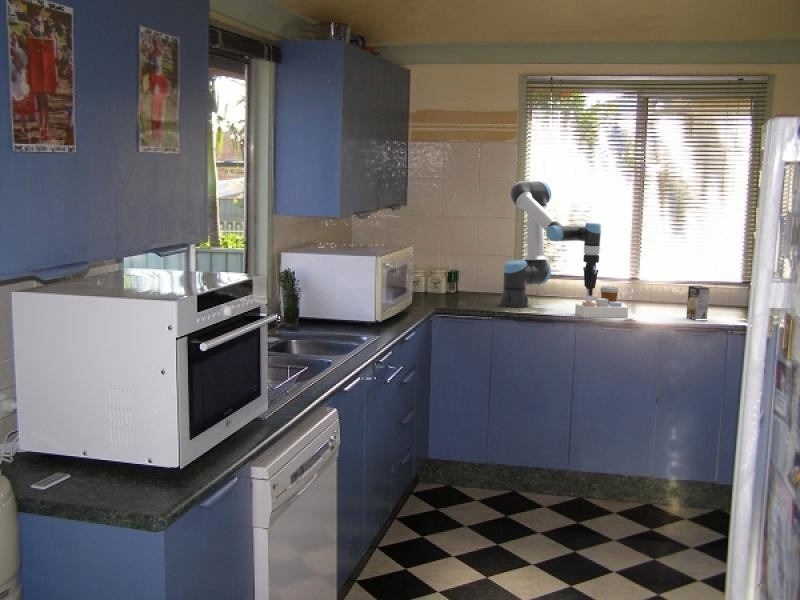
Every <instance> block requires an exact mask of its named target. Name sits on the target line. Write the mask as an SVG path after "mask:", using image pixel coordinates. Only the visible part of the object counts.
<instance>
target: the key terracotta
mask: <svg viewBox="0 0 800 600" xmlns="http://www.w3.org/2000/svg"><path fill="white" fill-rule="evenodd" d="M581 304H582V305H583V306H585V307H595V304H596V302H594V301H592V302H586V301H582V303H581Z"/></svg>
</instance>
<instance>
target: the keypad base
mask: <svg viewBox="0 0 800 600" xmlns="http://www.w3.org/2000/svg"><path fill="white" fill-rule="evenodd" d="M574 309H575V310H574V314H575V315H576V314H578V315H577V316H579V315H580V316H579V317H581V316H582V317H581V318H583V319H584V318H586V319H587V318H589V319H590V317H597V318H628V316H629V307H628V306H626V305H624V304H621V306H610V305H609V304H608V306H601V307H599V306H596V303H595V307H585V306H583V305H582V303H575V307H574Z"/></svg>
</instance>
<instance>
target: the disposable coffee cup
mask: <svg viewBox="0 0 800 600" xmlns="http://www.w3.org/2000/svg"><path fill="white" fill-rule="evenodd" d="M619 290H620V289H619V287H617V286H607V285H604V286H601V287H600V289H599V291H600V297H601V298H605V299H608V304H609V302H617V298H618V294H619Z"/></svg>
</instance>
